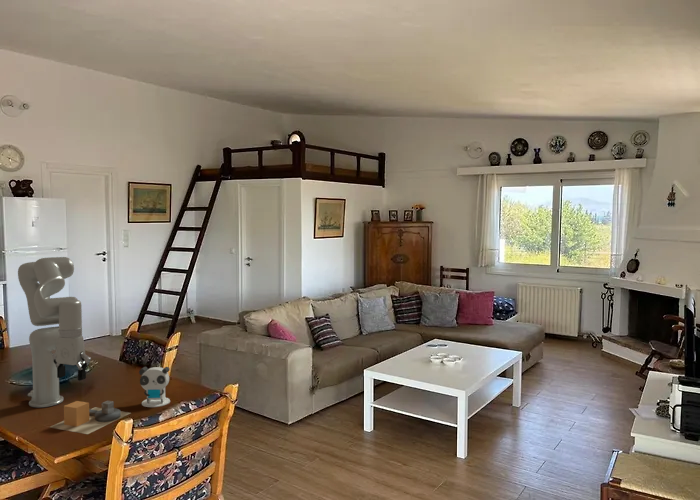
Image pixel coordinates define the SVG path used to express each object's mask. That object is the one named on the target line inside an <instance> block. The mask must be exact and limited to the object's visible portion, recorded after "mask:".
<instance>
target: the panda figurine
mask: <svg viewBox="0 0 700 500" xmlns="http://www.w3.org/2000/svg"><path fill="white" fill-rule="evenodd" d="M169 371H170V367H169V366H166V367H160V366H159V367H158V366H157V367H156V366H154V367H150V368H148V367H147V366H143V367H142V368H140V369H139V371H138V374H139V375H140V376H141V377H140V379H139V384H140V386H141V387H142V389H144V391H143V393H144V395H145V396H146V399H144V400H143V401H142V402H141V406H143V407H145V408H146V407H147V408H159V407H163V406H166V405H169V404H170V403H171V400H170V399H171V398H169V397H166V387H167V386H168V385H169V382H170V376H169Z"/></svg>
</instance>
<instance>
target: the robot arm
mask: <svg viewBox="0 0 700 500" xmlns="http://www.w3.org/2000/svg"><path fill="white" fill-rule="evenodd" d="M74 270H75V267H74V262H73V261H72V259H70V257H67V256H56V257H41V258H39V259H37V260H36V261H29V262H25V263H22V264H21V265H19V267H18V269H17V279H18V282H19V285H20V286H21V289H22V291H23V292H24V295H25V297H26V302H27V309H28V315H29V320H30V323H31V324H32V325H33V326H34V327H42V328H37V329H35V330H33V331H32V332H30V334H29V337H28V342H29V346H30V351H31V359H32V362H31V364H32V365H31V366H32V390H30V392H28V393H27V396H28V397H31V399H30V400H29V402H28V405H29V407H31V408H48V407H52V406H56V405H59V404H61V403H63V401H64V396H63V395H60V379H61V378H63V377H65V376H66V365H67V366H75V365H76V367H77V368H78V369H77V380H78V381H79V382H80V381H82V380H85V379H86V378H87V372H86V371H87V369H88V366H90V363H91V360H92V358H91V357H90V356H89V355H87V354H86V348H85V347H86V346H85V341H84V336H83V324H82V323H83V320H82V317H83V316H82V314H83V313H82V312H83V311H82V302H81V301H80V300H79V299H78V298H77V297H75V296H64V297H52V298H51V296H53V295H55V294H56V295H57V294H58V293H59V292H61V291H62V290H63V289H64V288H65V286H66V281H65V279H68V278H71V277H72V275H73V274H74V272H75V271H74ZM53 325H58V326H53ZM45 326H49V327H45ZM52 351H55V352H54V353H53V352H52Z"/></svg>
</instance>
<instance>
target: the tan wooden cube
mask: <svg viewBox="0 0 700 500" xmlns="http://www.w3.org/2000/svg"><path fill="white" fill-rule="evenodd" d="M89 409H90V402H87V401H81V400H80V401H79V400H75V401H73V402H71V403H68V404H65V405H63V421H64V424H65V425H70V426H76V427H77V426H79V425H81V424H84V423H86V422H88V421H89Z"/></svg>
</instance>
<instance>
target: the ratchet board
mask: <svg viewBox="0 0 700 500" xmlns="http://www.w3.org/2000/svg"><path fill="white" fill-rule="evenodd" d="M114 403H115V401H113V400H106V401H103V402H102V403H101V407H96V406H95V407H93V408H89V421H88V422H86V423H84V424H81V425H79V426H77V427H76V426H70V425H65V424H64V420H62V421H59V422H58V423H55V424H54V425H51V426H49V428H52V429H55V430H63V431H69V432H73V433H78V434H84V435H89V434H91V433H94V432H95V431H97V430H100V429H102V428H103V427H105V426H108V425H110V424H111V423H114V422H116V421H118V420H120V419H122V418H124V417H126V416H128V415H130V414H131V412H128V411H121V409H119V408H115V406H114Z"/></svg>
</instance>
